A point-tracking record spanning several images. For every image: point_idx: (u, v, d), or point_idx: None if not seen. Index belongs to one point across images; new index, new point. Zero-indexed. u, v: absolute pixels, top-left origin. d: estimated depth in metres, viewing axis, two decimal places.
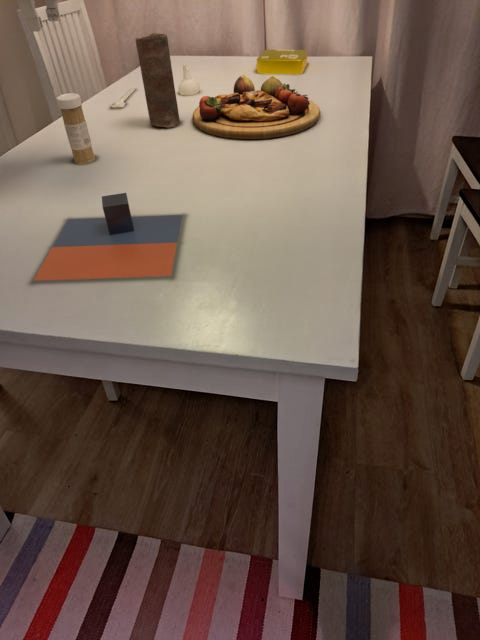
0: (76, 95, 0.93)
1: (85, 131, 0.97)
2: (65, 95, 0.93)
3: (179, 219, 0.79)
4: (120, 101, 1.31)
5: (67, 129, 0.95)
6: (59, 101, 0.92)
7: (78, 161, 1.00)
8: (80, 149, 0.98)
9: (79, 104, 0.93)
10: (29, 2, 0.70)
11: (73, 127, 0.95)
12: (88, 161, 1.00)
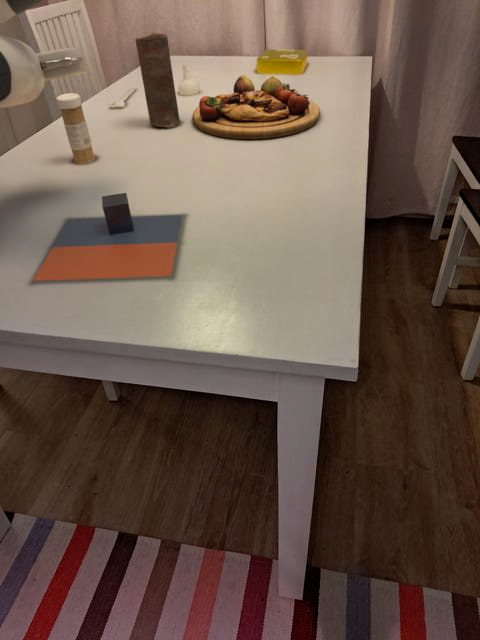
0: (76, 95, 0.93)
1: (85, 131, 0.97)
2: (65, 95, 0.93)
3: (179, 219, 0.79)
4: (120, 101, 1.31)
5: (67, 129, 0.95)
6: (59, 101, 0.92)
7: (78, 161, 1.00)
8: (80, 149, 0.98)
9: (79, 104, 0.93)
10: None
11: (73, 127, 0.95)
12: (88, 161, 1.00)
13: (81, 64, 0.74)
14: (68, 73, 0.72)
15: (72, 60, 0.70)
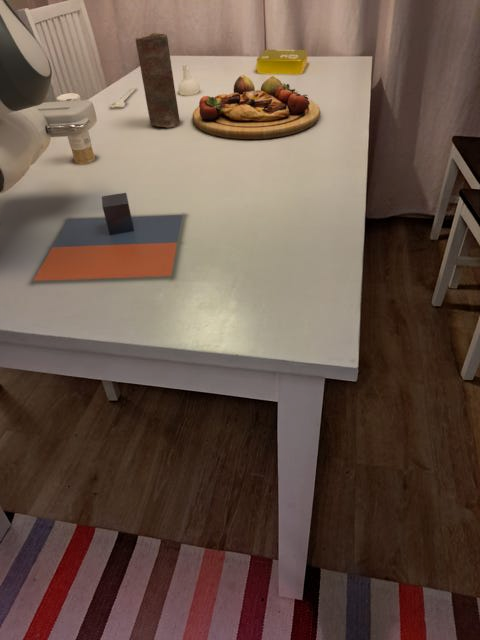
0: (76, 95, 0.93)
1: None
2: (65, 95, 0.93)
3: (179, 219, 0.79)
4: (120, 101, 1.31)
5: None
6: (59, 101, 0.92)
7: (78, 161, 1.00)
8: (80, 149, 0.98)
9: None
10: None
11: None
12: (88, 161, 1.00)
13: None
14: (73, 135, 0.74)
15: (76, 128, 0.72)
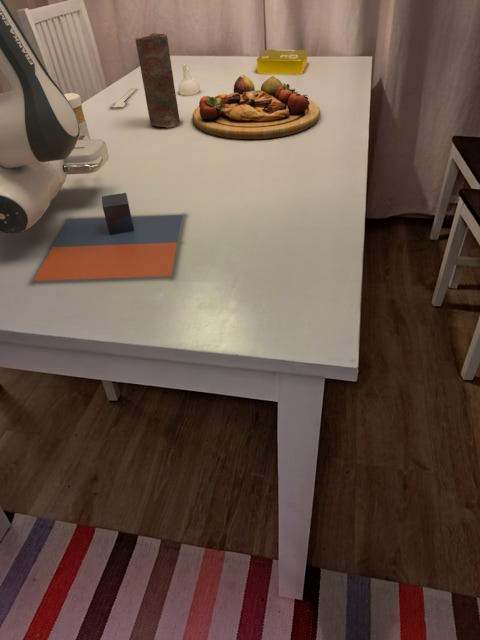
0: (76, 95, 0.93)
1: (85, 131, 0.97)
2: (65, 95, 0.93)
3: (179, 219, 0.79)
4: (120, 101, 1.31)
5: None
6: None
7: None
8: None
9: (79, 104, 0.93)
10: None
11: None
12: None
13: None
14: (87, 173, 0.81)
15: (91, 167, 0.78)
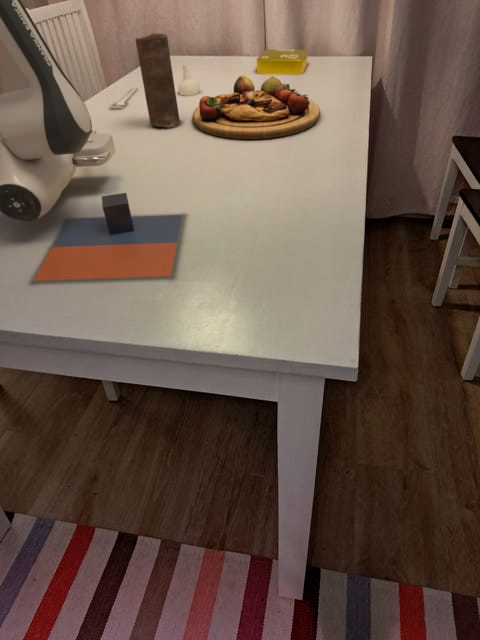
0: None
1: None
2: None
3: (179, 219, 0.79)
4: (121, 102, 1.31)
5: None
6: None
7: None
8: None
9: None
10: None
11: None
12: None
13: None
14: (96, 165, 0.85)
15: (99, 160, 0.83)
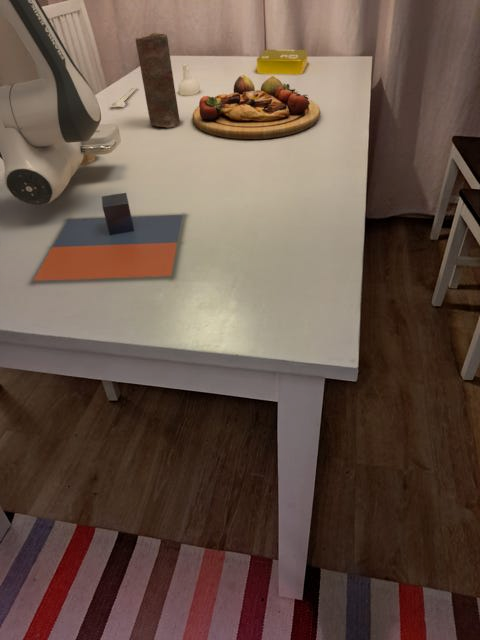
0: None
1: None
2: None
3: (179, 219, 0.79)
4: (121, 101, 1.31)
5: None
6: None
7: None
8: None
9: None
10: None
11: None
12: (88, 161, 1.00)
13: None
14: (102, 154, 0.89)
15: (106, 148, 0.87)
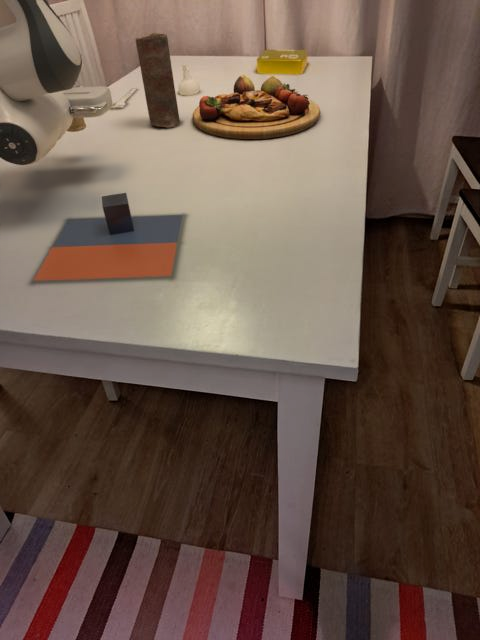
0: None
1: None
2: None
3: (179, 219, 0.79)
4: (121, 101, 1.31)
5: None
6: None
7: None
8: None
9: None
10: None
11: None
12: (78, 128, 0.95)
13: None
14: (92, 116, 0.85)
15: (96, 110, 0.82)
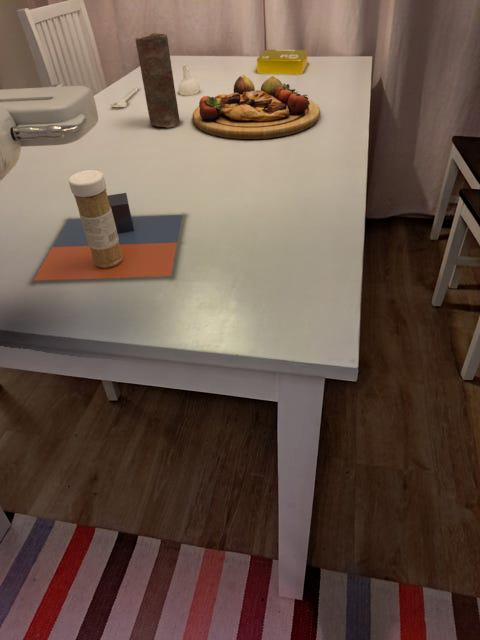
0: (99, 175, 0.61)
1: (111, 224, 0.65)
2: (82, 175, 0.62)
3: (179, 219, 0.79)
4: (122, 101, 1.31)
5: (84, 222, 0.64)
6: (72, 186, 0.60)
7: (99, 263, 0.68)
8: (102, 249, 0.66)
9: (103, 188, 0.62)
10: None
11: (94, 221, 0.63)
12: (114, 263, 0.68)
13: None
14: (59, 144, 0.44)
15: (64, 132, 0.42)
